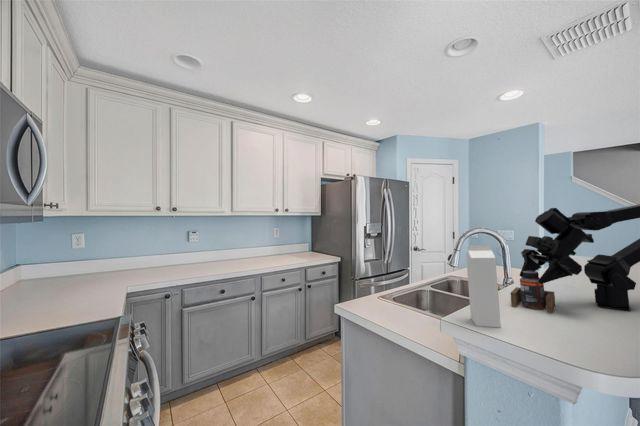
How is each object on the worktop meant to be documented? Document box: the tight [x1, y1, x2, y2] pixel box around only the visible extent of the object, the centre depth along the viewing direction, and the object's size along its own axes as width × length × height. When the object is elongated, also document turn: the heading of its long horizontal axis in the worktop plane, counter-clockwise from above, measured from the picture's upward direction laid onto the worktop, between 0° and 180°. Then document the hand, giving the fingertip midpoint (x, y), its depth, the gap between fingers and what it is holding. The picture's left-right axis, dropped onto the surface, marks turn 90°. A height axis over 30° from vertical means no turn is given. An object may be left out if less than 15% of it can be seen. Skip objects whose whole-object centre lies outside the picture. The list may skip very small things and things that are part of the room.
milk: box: [465, 244, 502, 328], centre depth 73 cm, size 6×6×22 cm
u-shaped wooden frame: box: [510, 286, 556, 314], centre depth 83 cm, size 10×9×4 cm
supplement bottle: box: [519, 270, 547, 310], centre depth 83 cm, size 6×6×11 cm
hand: (529, 279), depth 83 cm, fingers open, 9 cm apart
